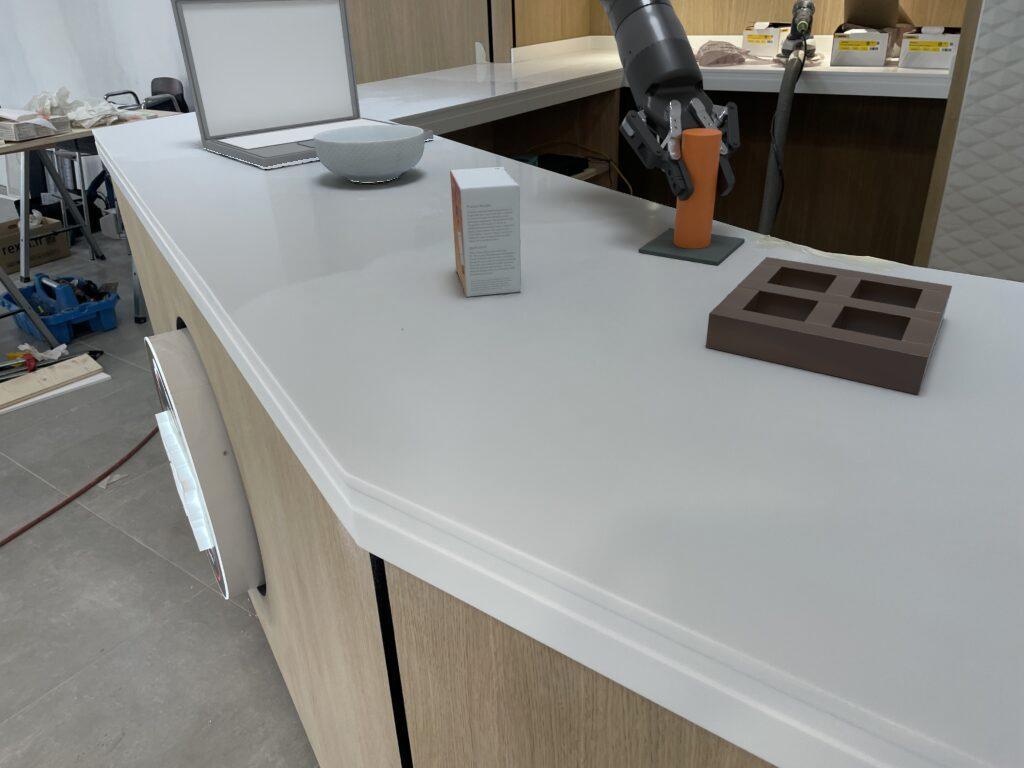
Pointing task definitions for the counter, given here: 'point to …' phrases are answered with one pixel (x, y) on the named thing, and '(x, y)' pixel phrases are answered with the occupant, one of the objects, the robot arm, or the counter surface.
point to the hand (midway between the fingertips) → (707, 193)
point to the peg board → (833, 322)
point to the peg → (698, 188)
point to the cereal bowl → (370, 151)
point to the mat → (709, 255)
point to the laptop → (269, 75)
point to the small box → (486, 230)
